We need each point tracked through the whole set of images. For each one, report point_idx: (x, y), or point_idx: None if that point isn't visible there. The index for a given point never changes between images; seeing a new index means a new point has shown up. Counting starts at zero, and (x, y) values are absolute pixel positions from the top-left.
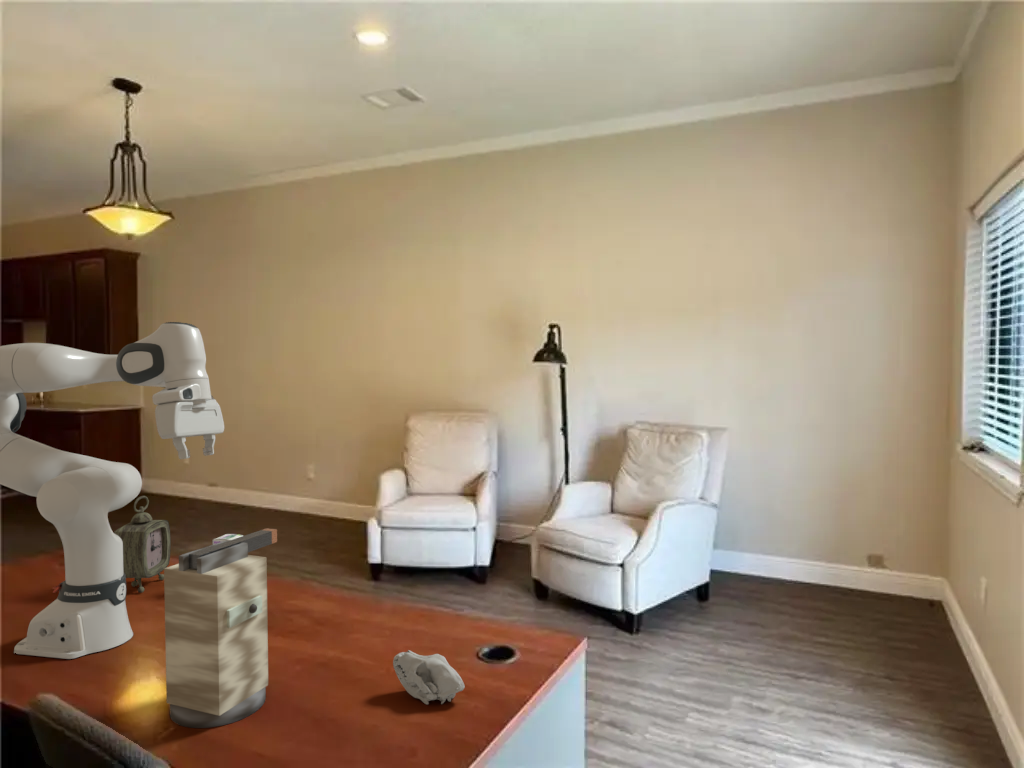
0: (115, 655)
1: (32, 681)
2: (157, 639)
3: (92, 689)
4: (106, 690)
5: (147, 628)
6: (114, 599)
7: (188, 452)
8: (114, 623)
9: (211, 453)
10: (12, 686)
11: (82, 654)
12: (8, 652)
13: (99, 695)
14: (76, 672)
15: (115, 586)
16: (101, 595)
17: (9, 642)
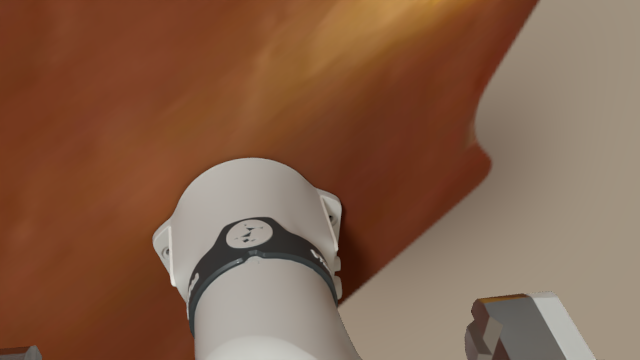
0: (308, 132)
1: (429, 191)
2: (209, 103)
3: (458, 60)
4: (462, 29)
5: (154, 171)
6: (276, 225)
7: (529, 336)
8: (270, 193)
9: (4, 352)
10: (447, 206)
11: (324, 191)
12: None
13: (482, 27)
14: (390, 146)
15: (277, 244)
16: (308, 246)
17: None
